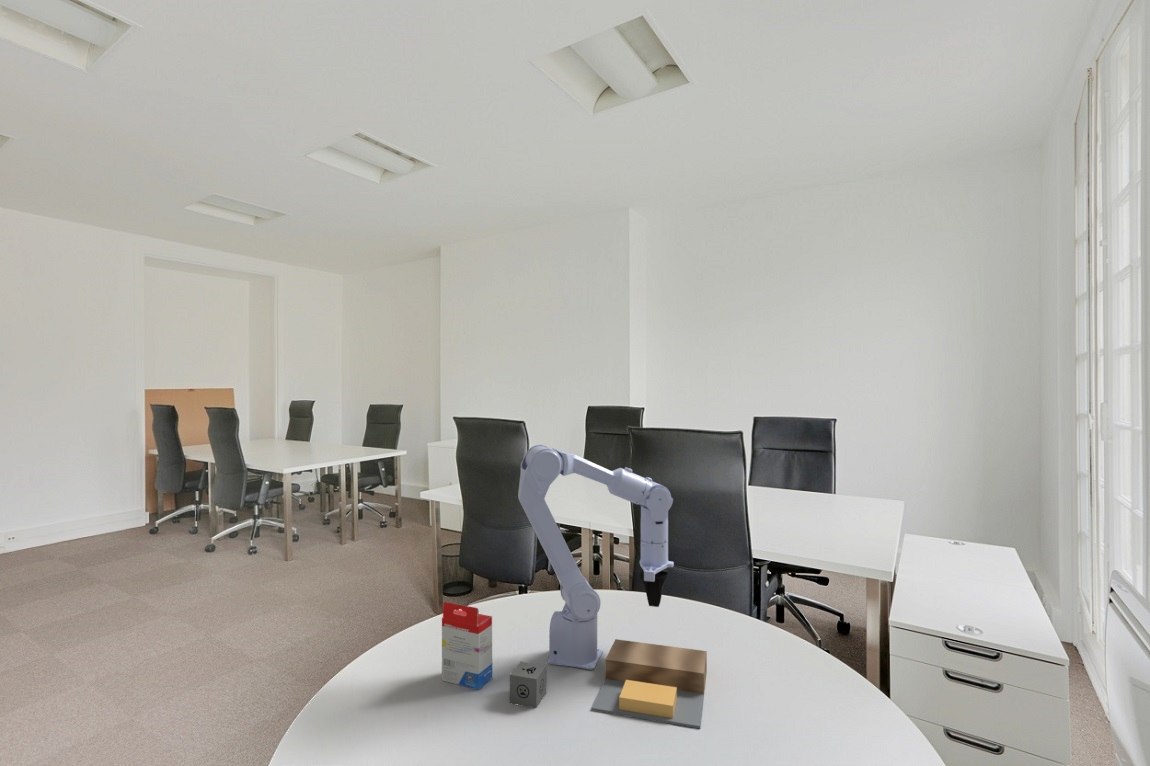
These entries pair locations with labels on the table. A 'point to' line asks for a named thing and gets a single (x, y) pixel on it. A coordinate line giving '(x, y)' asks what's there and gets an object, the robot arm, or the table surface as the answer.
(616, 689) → the mat
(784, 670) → the table surface
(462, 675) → the ink box
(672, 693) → the yellow orange block
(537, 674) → the dice cube
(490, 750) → the table surface
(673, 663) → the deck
